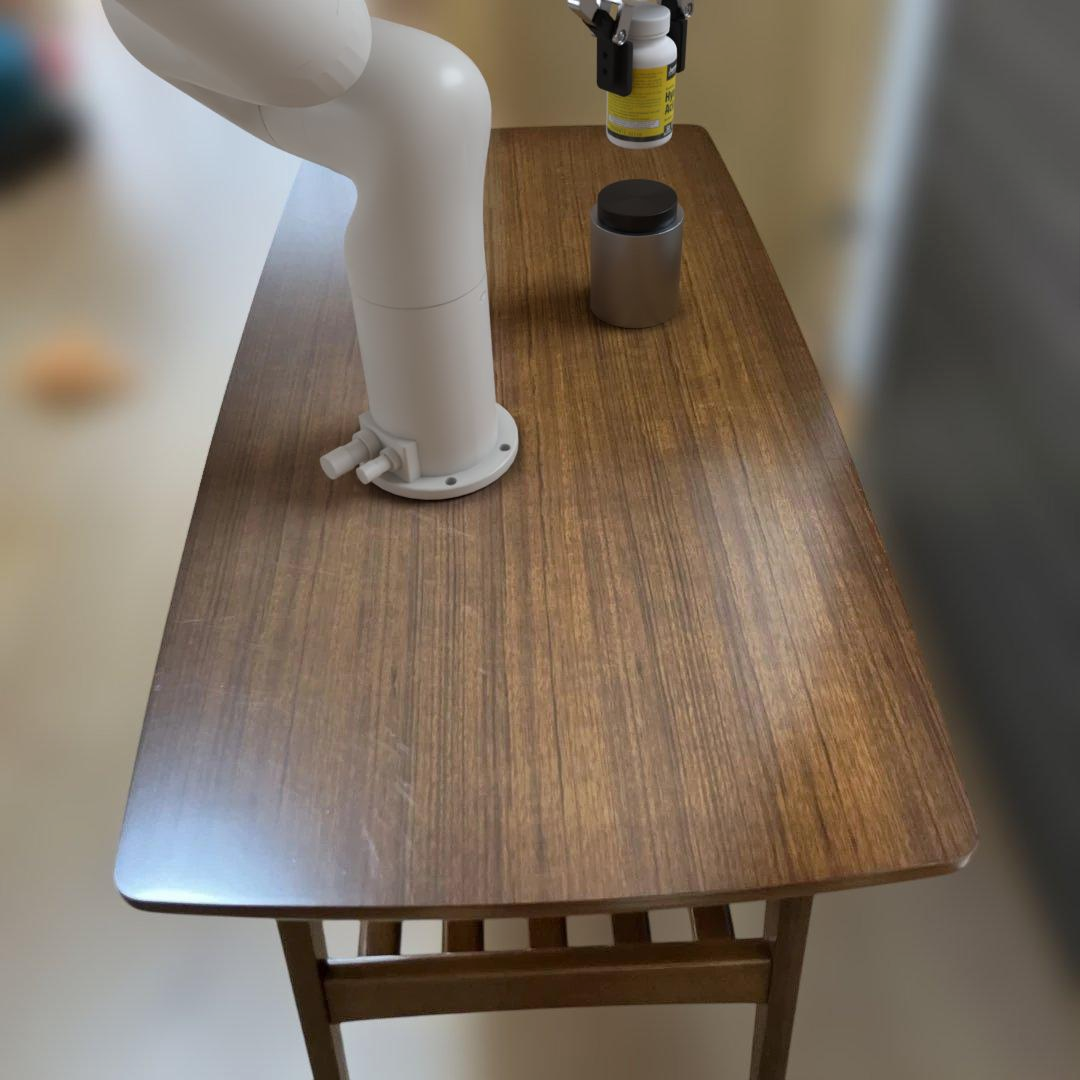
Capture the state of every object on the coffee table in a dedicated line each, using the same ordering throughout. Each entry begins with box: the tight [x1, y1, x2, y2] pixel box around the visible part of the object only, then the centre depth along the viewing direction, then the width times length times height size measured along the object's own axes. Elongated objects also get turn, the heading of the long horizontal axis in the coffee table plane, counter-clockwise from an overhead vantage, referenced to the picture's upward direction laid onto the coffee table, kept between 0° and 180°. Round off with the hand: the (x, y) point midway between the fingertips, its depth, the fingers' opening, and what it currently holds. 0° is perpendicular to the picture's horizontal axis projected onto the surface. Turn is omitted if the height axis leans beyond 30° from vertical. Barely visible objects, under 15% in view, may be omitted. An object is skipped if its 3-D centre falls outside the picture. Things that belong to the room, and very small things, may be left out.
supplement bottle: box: [605, 2, 677, 150], centre depth 88 cm, size 5×5×10 cm
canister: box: [589, 178, 685, 329], centre depth 98 cm, size 8×8×10 cm
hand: (641, 77), depth 88 cm, fingers closed on supplement bottle, 5 cm apart
